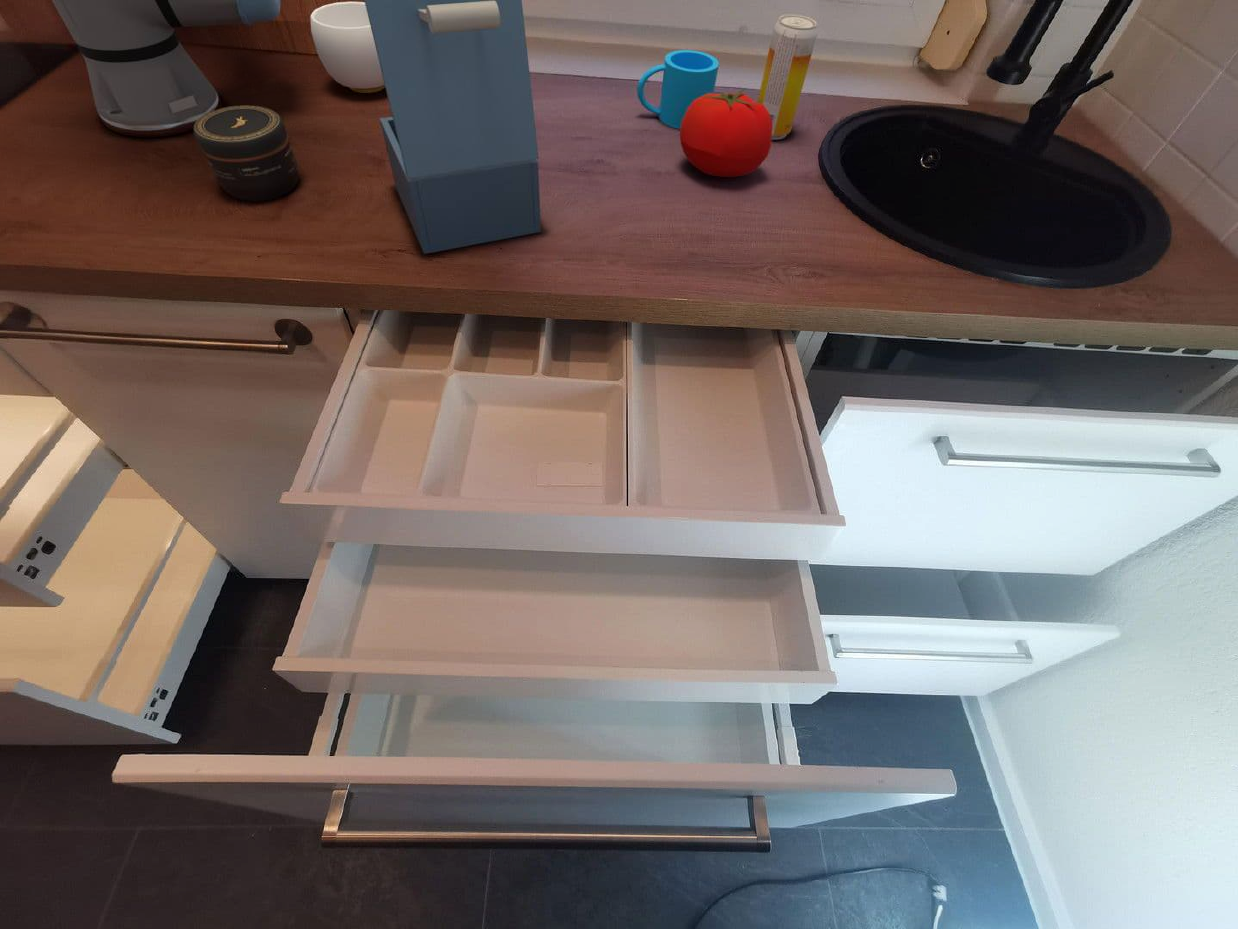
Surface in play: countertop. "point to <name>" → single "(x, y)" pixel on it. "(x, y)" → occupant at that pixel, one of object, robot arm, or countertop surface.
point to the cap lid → (456, 82)
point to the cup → (347, 45)
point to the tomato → (726, 134)
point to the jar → (248, 151)
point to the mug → (681, 83)
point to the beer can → (786, 70)
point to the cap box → (466, 201)
